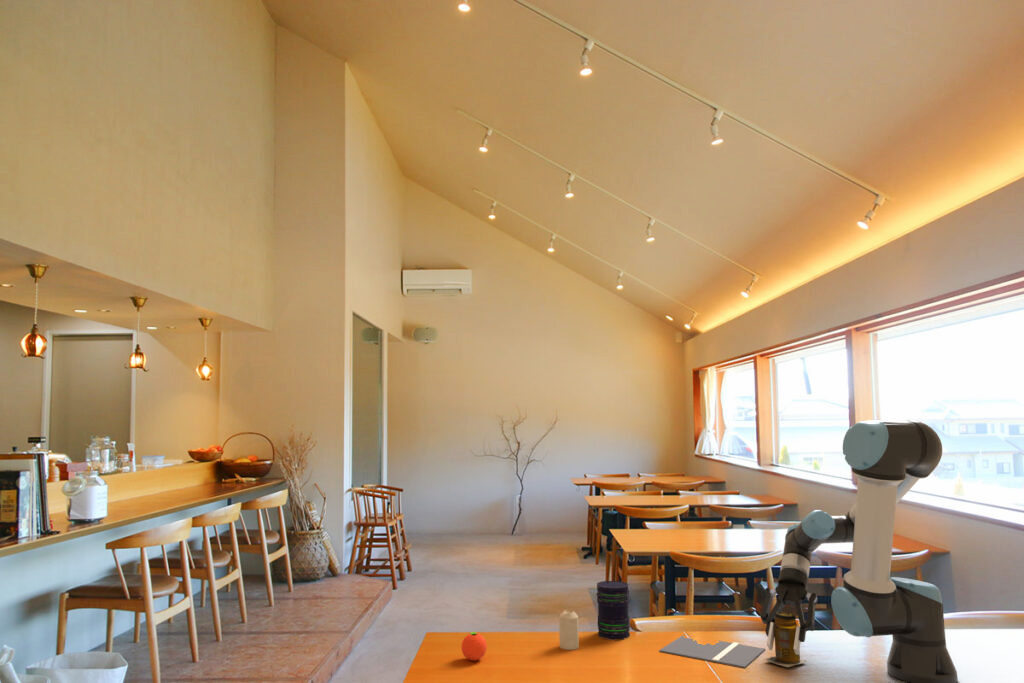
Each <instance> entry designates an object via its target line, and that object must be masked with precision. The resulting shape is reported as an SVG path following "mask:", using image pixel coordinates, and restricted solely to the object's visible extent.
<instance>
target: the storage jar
mask: <svg viewBox="0 0 1024 683" xmlns="http://www.w3.org/2000/svg"><path fill="white" fill-rule="evenodd" d="M596 601H597V607H598V608H597V609H598V610H597V611H598V612H597V613H598V615H597V630H598V631H597V636H598V637H600V638H601V639H606V640H611V641H612V640H614V641H616V640H615V639H621V640H625V639H624V638H626V639H628V638H630V636H631V633H630V632H631V631H630V630H631V629H630V627H631V623H630V616H629V603H630V593H629V584H628V583H627V582H624V581H619V580H605V581H604V580H603V581H599V582H597V583H596ZM598 633H599V634H598ZM627 637H628V638H627Z"/></svg>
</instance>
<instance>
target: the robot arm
mask: <svg viewBox="0 0 1024 683" xmlns="http://www.w3.org/2000/svg"><path fill="white" fill-rule="evenodd" d="M941 441H942V440H941V438H940V436H939V435H938V433H937V431H935V430H934V429H933V428H932V427H931V426H929V425H927V423H925V422H921V421H919V420H912V419H905V420H896V419H895V420H892V419H891V420H889V419H887V420H883V419H882V420H880V419H879V420H878V419H877V420H876V419H870V420H861V421H858V422H856V423H853V425H852V426H850V427H849V428H848V429H847V430H846V432H845V435H844V437H843V439H842V455H844V460H845V462H846V464H848V465H849V466H850V468H851V473H852V474H853V475H854V476H855V477H856V479H857V486H856V487H857V490H856V499H855V500H856V501H855V504H854V505H853V506H852V507H851V509H850V510H848V512H847V513H846V514H845V515H843V514H842V515H831V514H829V513H828V512H826V511H823V510H821V509H815V510H813V511H811V512H809V514H807V515H806V516H805V517H804V518H802V521H801V522H799V523H796V524H794V525H793V524H791V525H790V526H789V527H788V528H787V531H786V534H785V538H784V540H785V541H784V545H783V546H784V548H783V553H782V558H781V565H780V572H779V575H778V576H779V577H778V584H777V586H776V587H775V588H771V589H770V587H766V588H765V598H764V602H763V606H762V609H761V613H760V619H761V621H762V624H763V625H765V624H766V625H765V631H764V632H765V636H766V637H767V641H766V645H767V648H768V650H769V651H773V648H774V644H775V636H774V623H775V613H776V612H783V609H785V607H786V606H787V605H789V606H795V609H796V613H797V614H796V615H797V619H798V622H799V626H798V625H797V627H796V634H795V641H794V648H793V649H794V651H795V654H796V655H799V651H801V650H800V648H801V643H805V640H806V635H807V632H808V631H810V632H813V631H814V630H815V619H816V618H815V617H816V606H817V603H818V601H819V600H818V597H817V594H816V593H814V592H812V593H810V592H808V583H809V575H810V571H811V570H810V569H811V560H812V554H813V553H814V552H815V551H816V550H817V549H818V548H819V547H820V546H821V545H822V544H842V543H843V544H844V543H846V544H847V543H852V553H851V554H852V555H851V567H850V570H849V571H848V572H846V573H844V575H843V580H842V586H837V587H835V589H834V590H832V593H831V595H830V596H831V599H830V600H831V601H830V602H831V608H832V611H833V614H834V616H835V618H836V620H837V622H838V624H839V626H840V627H841V628H842V629H843V631H845V632H846V633H847V634H848V635H850V636H853V637H865V638H871V637H877V636H879V637H881V636H882V637H883V636H892V642H891V646H890V648H889V653H888V657H887V661H886V668H887V673H888V675H890V676H892V677H893V678H895V679H898V680H899V679H900V681H902V680H903V682H905V681H906V682H905V683H909V682H911V683H956V682H957V681H958V682H959V680H958V677H959V676H958V671H957V668H956V666H955V664H954V661H953V660H952V656H951V655H950V652H949V651H948V647H947V641H946V630H945V620H944V619H945V617H944V606H943V605H944V602H943V599H942V593H941V590H940V588H939V587H938V586H937V585H935V584H932V583H930V582H926V581H922V580H917V579H911V578H906V577H905V578H904V577H897V576H891V568H892V556H893V543H894V532H895V519H896V506H897V504H898V503H899V502H900V501H901V500H902V499H903V498H904V497H905V495H906V494H907V493H908V492H909V491H910V490H911V489H912V488H913V487H914V485H915V484H916V483H917V482H918V481H919V480H920V479H926V478H928V477H929V476H930V475H931V474H932V473H933V471H934V470H935V469H936V468H937V466H938V465H939V464H940V461H941V459H942V456H943V444H942V443H943V442H941ZM775 595H777V596H778V597H777V600H776V603H775V604H774V606H773V607H772V604H773V599H775ZM806 599H807V601H808V602H807V603H808V605H807V606H808V607H807V622H806V621H805V617H804V611H803V607H802V602H804V601H805V600H806ZM771 608H772V610H771Z"/></svg>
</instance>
